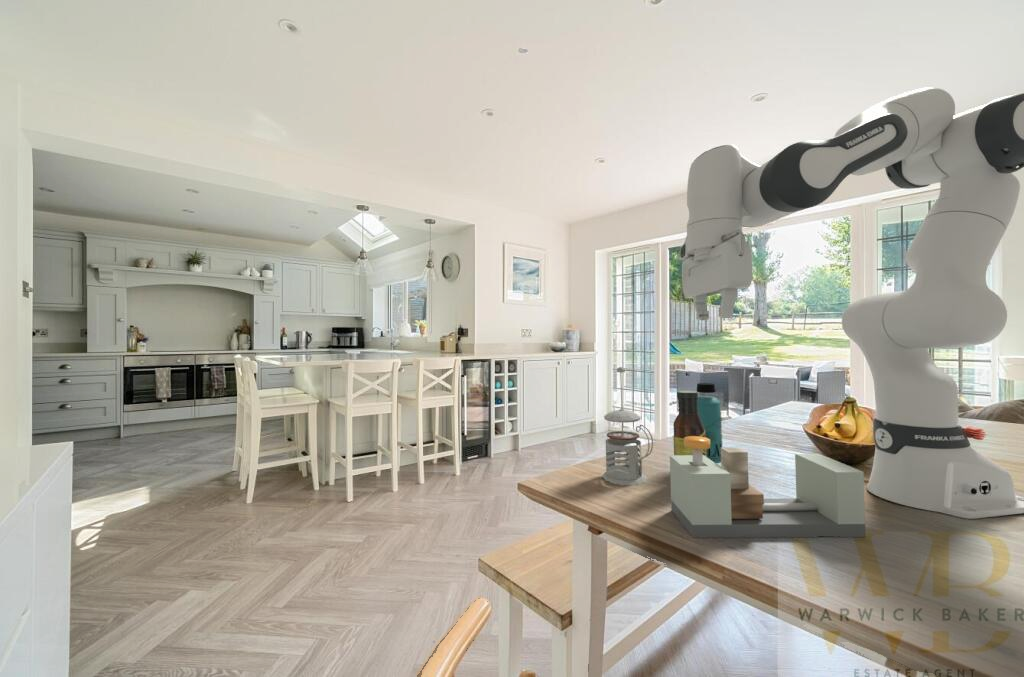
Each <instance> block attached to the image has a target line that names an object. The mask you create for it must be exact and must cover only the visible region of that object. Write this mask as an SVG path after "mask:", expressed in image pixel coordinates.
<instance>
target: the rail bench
mask: <svg viewBox="0 0 1024 677" xmlns="http://www.w3.org/2000/svg"><path fill="white" fill-rule="evenodd" d="M794 456H795V458H794V459H795V460H794V461H795V462H794V463H795V492H796V493H795V494H796V495H795V496H796V498H795V497H794V498H764V505H762V506H763V519H732V517H731V483H730V473H729V472H727V471H726V470H724V469H723V468H721V465H718V463H714V462H713V461H711V460H710V459H709V458H707V457H706V456H704V455H703V466H693V460H692V455H674V454H673V455H669V468H670V469H669V471H670V472H669V473H670V474H669V475H670V503H671V504H670V506H671V507H670V508H671V512H672V513H673V514H674V516H675V517H676V518H677V519H678V521H679V522H680V523H681V524H682V526H683V527H684V528H685V529H686V531H687V532H688V534H690V536H691V537H692V538H695V539H698V538H818V537H817V536H840V537H839V538H866V536H867V535H866V507H865V505H866V504H865V472H864V471H862V470H860V469H857V468H855V467H853V466H850V465H847V464H846V463H844V462H843V463H842V462H841V461H838V460H835V459H833V458H830V457H828V456H826V455H822V454H821V453H817V452H816V453H795V454H794ZM815 536H816V537H815Z"/></svg>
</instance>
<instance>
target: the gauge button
mask: <svg viewBox="0 0 1024 677" xmlns="http://www.w3.org/2000/svg"><path fill="white" fill-rule="evenodd" d="M684 446H685V447H688V448H691V449H692V460H693V466H703V449H709V448H710V439H708V438H705V437H699V436H688V437H685V438H684Z"/></svg>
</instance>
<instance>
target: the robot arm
mask: <svg viewBox="0 0 1024 677" xmlns="http://www.w3.org/2000/svg"><path fill="white" fill-rule="evenodd" d="M1022 168H1024V92H1023V93H1016V94H1011V95H1007V96H1003V97H1000V98H996V99H994V100H992V101H990V102H988V103H987V104H984V105H980V106H978V107H975V108H971V109H967V110H966V111H964V112H960V113H958V114H956V104H955V101H954V97H953V96H952V95H951V94H950V93H949V92H947V91H946V90H944V89H942V88H938V87H923V88H919V89H915V90H912V91H907V92H904V93H902V94H899V95H897V96H893V97H890V98H888V99H886V100H884V101H881V102H880V103H877V104H875V105H873V106H871V107H869V108H868V109H865V110H864V111H862V112H860V113H859V114H858V115H856V116H854V117H853V118H851V119H850V120H849V121H848V122H845V124H843V125H842V126H841V127H840V128H838V130H836V132H835V135H834V136H833V138H829V139H822V140H805V141H798V142H795V143H792V144H789V145H788V146H787V147H785V148H784V149H783V150H781V151H780V152H779V153H777V154H776V155H775V156H774V157H772V158H771V159H770V160H768V161H766V162H765V163H763V164H762V165H758V164H757V163H754V162H752V161H750V160H749V159H747V158H746V157H745V156H743V155H742V154H741V152H740V150H739V149H738V147H737V146H736V145H734V144H726V145H725V144H724V145H720V146H719V145H718V146H716V147H712V148H711V149H708V150H706V151H704V152H702V153H701V154H700V155H698V156H697V157H696V158H695V159H694V160H693V162H691V164H690V168H689V171H688V179H687V187H686V188H687V189H686V190H687V191H686V205H687V209H688V221H687V223H686V236H685V240H684V243H683V244H682V246H681V248H680V249H679V256H678V257H679V260H680V261H682V263H681V282H682V285H681V286H682V293H683V296H684V298H685V299H692V300H693V302H692V303H693V307H694V309H695V311H696V312H695V314H696V316H695V317H696V320H697V321H700V322H701V321H708V320H709V319H710V311H709V310H708V306H707V303H708V297H711V296H714V295H715V296H716V295H720V297H721V303H720V307H718V308H717V310H718V312H717V313H718V318H720V319H731V318H733V317H734V307H735V305H736V301H737V298H738V296H739V295H738V292H739V291H738V290H741V289H745V288H749V287H750V286H751V284H752V281H753V277H754V272H753V269H754V268H753V258H752V251H751V250H752V249H751V245H750V244H749V241H748V242H747V240H746V235H745V234H744V233H743V227H745V228H757V227H762V226H764V225H767V224H769V223H772V222H774V221H778V220H780V219H782V218H784V217H788V216H790V215H792V214H795V213H797V212H799V211H803V210H806V209H807V210H808V209H810V208H813V207H815V206H818V205H820V204H822V203H823V202H824V201H826V200H828V199H829V198H830V196H831V195H833V193H835V191H836V189H837V188H838V187H839V186H840V185H841V183H842V182H843V181H844V180H845V179H846V178H847V177H848V176H849V175H851V176H863V175H867V174H872V173H875V172H877V171H880V170H883V169H884V170H885V174H886V176H887V178H888V179H889V181H890V182H891V183H893V184H894V186H896V187H898V188H900V189H904V190H905V189H906V190H909V189H910V190H912V189H920V188H926V187H929V186H930V185H934V184H938V183H939V185H940V186H939V187H940V188H939V195H938V197H937V199H935V202H934V203H933V204H932V206H931V207H930V209H929V211H928V212H927V213H926V215H925V217H924V219H923V221H922V223H921V225H920V227H919V228H918V230H917V233H915V235H914V238H913V239H912V240H911V243H910V245H909V246H908V249H907V250H906V252H905V256H904V258H905V263H906V264H907V266H908V267H909V268H910V270H911V271H912V272H914V273H915V278H914V281H913V283H912V284H911V285H910V287H908V288H907V289H906V290H900V291H890V292H883V293H882V292H881V293H875V294H872V295H869V296H866V297H864V298H861V299H859V300H856V301H854V302H852V303H850V304H849V305H847V307H846V308H845V310H844V312H843V314H842V317H841V326H842V329H843V331H844V333H845V335H846V336H847V337H848V338H849V339H850V340H852V341H853V342H854V343H855V344H856V346H858V347H859V349H860V350H861V352H862V353H863V356H864V358H865V360H866V362H867V365H868V367H869V369H870V372H871V375H872V376H871V377H872V380H873V387H874V388H873V389H874V401H875V402H874V403H875V404H874V405H875V417H874V418H873V419H872V434H873V435H872V436H873V441H874V445H875V448H874V449H875V450H874V457H873V462H872V463H873V464H872V469H871V473H870V476H869V480H868V483H867V485H866V490H867V491H868V492H870V493H871V494H873V495H875V496H877V497H879V498H881V499H883V500H886V501H889V502H892V503H895V504H899V505H904V506H907V507H911V508H915V509H921V510H926V511H933V512H936V513H937V512H938V513H943V514H947V515H949V516H954V517H958V518H962V519H968V520H969V519H970V520H971V519H982V518H988V517H989V518H991V517H1001V516H1008V515H1017V514H1024V497H1023V496H1020V495H1017V494H1016V491H1015V485H1014V483H1015V482H1014V480H1013V477H1012V475H1011V474H1010V472H1009V471H1008V470H1007V469H1006V468H1004V467H1003V466H1001V465H1000V464H998V463H997V462H995V461H993V460H992V459H990V458H989V457H987V456H986V455H984V454H982V453H981V452H980V451H978V450H977V449H975V448H973V447H972V446H971V443H970V440H969V439H973V440H976V441H983V440H984V438H986V435H987V434H986V431H985V430H984V429H982V428H977V427H976V428H975V427H972V426H967V427H966V428H965V427H963V426H962V425H960V424H959V396H958V394H959V392H958V390H959V389H958V385H957V382H956V381H955V380H954V378H953V377H952V376H951V375H950V374H948V373H946V372H945V371H943V370H942V369H941V368H939V367H938V366H937V364H936V363H935V362H934V360H933V358H932V356H931V355H930V351H929V349H935V350H937V349H938V350H939V349H940V350H952V349H959V348H966V347H972V346H977V345H978V346H979V345H984V344H987V343H989V342H992V341H993V340H995V339H996V338H997V337H998V336H999V335H1000V334H1001V332H1002V331H1003V330H1004V328H1005V326H1006V323H1007V320H1008V311H1007V310H1008V309H1007V307H1006V305H1005V302H1004V301H1003V299H1002V298H1001V297H1000V296H999V295H998V294H997V293H996V292H994V291H993V290H992V289H990V288H989V286H988V283H987V271H988V267H989V265H990V262H991V261H992V258H993V256H994V254H995V252H996V250H997V248H998V246H999V244H1000V242H1001V240H1002V238H1003V237H1004V235H1005V232H1006V231H1007V229H1008V226H1009V225H1010V223H1011V220H1012V218H1013V216H1014V212H1015V209H1016V207H1017V203H1018V200H1019V195H1020V190H1021V184H1020V181H1019V179H1018V178H1017V176H1015V175H1014V174H1013V173H1015V172H1017V171H1019V170H1021V169H1022Z"/></svg>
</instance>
